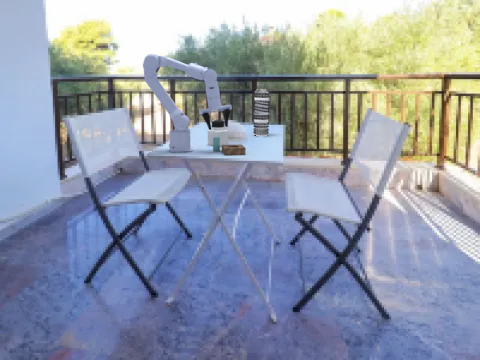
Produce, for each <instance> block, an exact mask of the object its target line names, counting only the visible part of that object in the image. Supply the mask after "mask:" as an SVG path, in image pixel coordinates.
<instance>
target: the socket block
mask: <svg viewBox="0 0 480 360" xmlns="http://www.w3.org/2000/svg"><path fill="white" fill-rule="evenodd" d="M246 152H247V151H246V147H245V146H244V145H243V144H242V143H241V144H239V143H238V144H228V145H222V146H221V153H222V154H223V155H224V156H245V155H246Z"/></svg>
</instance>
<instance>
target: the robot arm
mask: <svg viewBox="0 0 480 360" xmlns="http://www.w3.org/2000/svg"><path fill="white" fill-rule="evenodd" d="M164 67H170V68H172V69H177V70H180V71H183V72H185V73H186V75H187V76H188V77H190V78H193V79H197V80H199V81H204V84H205V94H206V100H207V105H208V107H207V108H203V109H199V110H198V113H199V115H201V116H202V118H203V120H204V122H205V124H206V126H207V128H208V130H212V123H211V117H210V114H211V113H217V112H222V116H223V121H224V128H225V127H226V128H229V118H230V114H231V110H233V106H232V104H226V105H222V100H221V94H220V87H219V83H218V74H217V72H216V71H215V70H213V68H209V67H207V66H205V67H204V66H202V65H199V64H198V62H194V63H193V62H191V63H189V64H186V63H183V62H182V61H179V60H177V59H174V58H171V57H168V56H163V55H158V54H153V53H150V54H147V55H146V56H145V57H144V59H143V63H142V68H143V76H144V82H145V83H146V85H147V86H148V87H149V88H150V90H151V91H152V92H153V94H154V96H155V97H156V98H157V100H158V101H159V103H160V104H161V105H162V106H163V108H164V110H165V111H166V112H167V114H168V115H169V117H170V119H171V121H172V123H173V127H174V129H173V130H169V131H168V132H169V135H168V137H169V143H168V148H169V150H170V151H169V152H170V153H181V152H182V153H185V152H193V149H192V148H191V129H190V128H189V126H190V123H191V119H190V117H189V116H188V115H186V114H185V113H184V112H183V111H182V110H181V109H180V108H179V107H178V106H177V105H176V102H175V101H174V100H173V98H172V97H171V95H169V94H168V92H167V91H166V89H165V88H164V86H163V85H162V84H161V82H160V81H159V79H158V75H159V74H158V73H159V71H160V69H161V68H164Z"/></svg>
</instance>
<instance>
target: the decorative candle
mask: <svg viewBox="0 0 480 360" xmlns="http://www.w3.org/2000/svg"><path fill="white" fill-rule="evenodd" d="M269 94H270V92H269V90H268V89H266V88H257V89H256V90H255V91H254V99H253V101H252V103H254V104H253V110H254V111H253V115H254V119H253V128H252V129H253V132H252V133H253V136H254V135H256V136H255V137H268V136H267V135H269V131H270V129H269V128H270V126H269V124H270V123H269V115H270V108H269V107H270V104H271V101H270V97H269Z"/></svg>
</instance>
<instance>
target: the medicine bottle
mask: <svg viewBox="0 0 480 360" xmlns="http://www.w3.org/2000/svg"><path fill="white" fill-rule="evenodd" d="M213 137H220V147H222V145H229V130H227V129H225V123H224V119H213V120H212V121H211V130H209V129H208V130H207V145H208V146H212V147H213Z"/></svg>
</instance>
